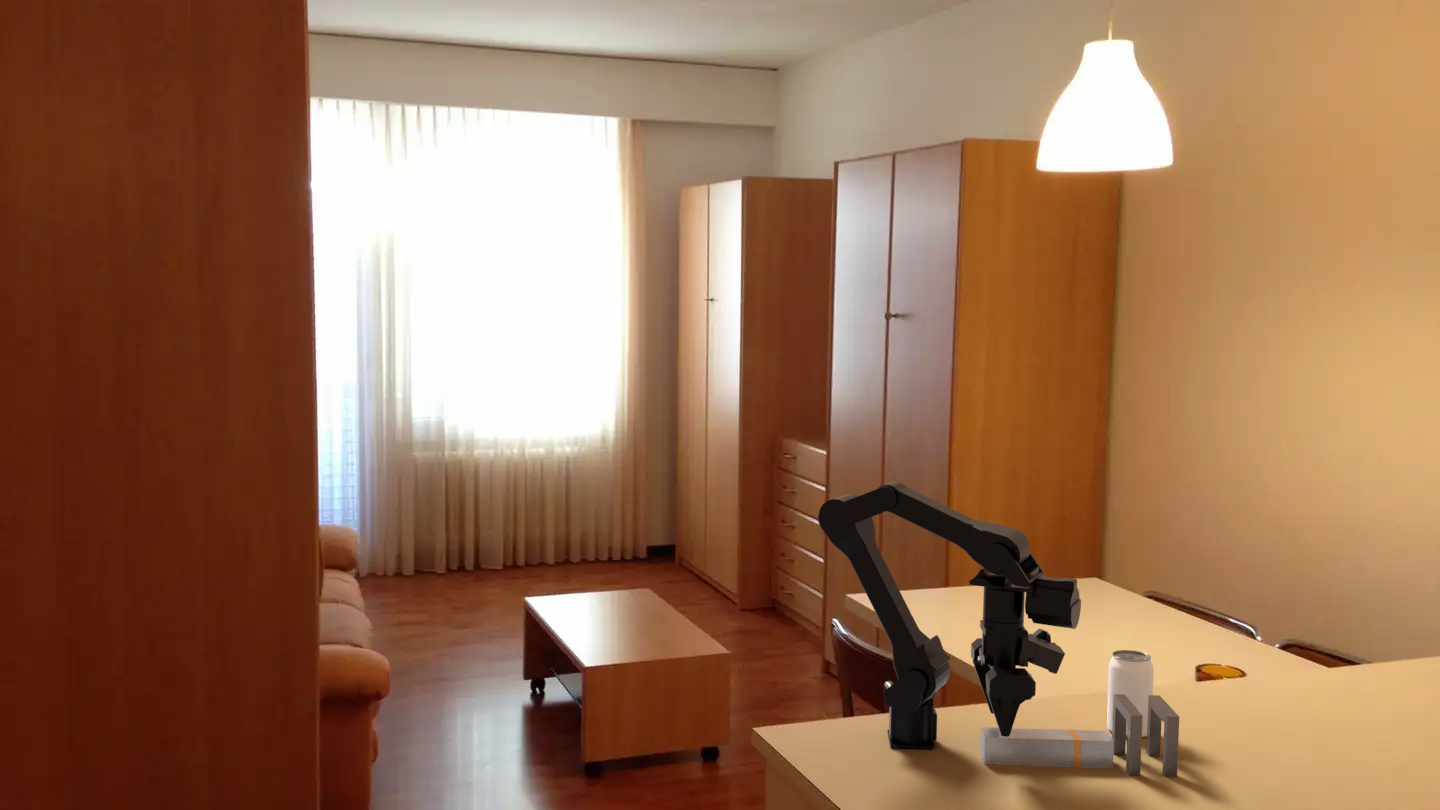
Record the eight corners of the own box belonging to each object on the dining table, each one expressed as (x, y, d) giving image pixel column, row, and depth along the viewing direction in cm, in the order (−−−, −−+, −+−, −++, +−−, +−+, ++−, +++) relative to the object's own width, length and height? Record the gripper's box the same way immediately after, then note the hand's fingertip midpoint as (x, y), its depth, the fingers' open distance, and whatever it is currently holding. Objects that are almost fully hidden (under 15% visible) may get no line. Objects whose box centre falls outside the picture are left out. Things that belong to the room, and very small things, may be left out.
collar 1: (1128, 775, 165) (1130, 715, 164) (1111, 751, 174) (1113, 694, 173) (1140, 775, 165) (1142, 715, 164) (1122, 751, 174) (1124, 694, 173)
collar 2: (1165, 776, 165) (1167, 716, 164) (1146, 752, 174) (1148, 695, 173) (1176, 776, 165) (1179, 716, 164) (1157, 752, 174) (1159, 695, 173)
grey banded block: (984, 764, 169) (985, 737, 169) (979, 753, 173) (980, 726, 173) (1112, 768, 168) (1113, 741, 167) (1105, 757, 172) (1106, 730, 171)
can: (1154, 740, 178) (1157, 662, 177) (1109, 737, 180) (1112, 660, 179) (1147, 725, 185) (1150, 650, 184) (1104, 722, 186) (1107, 647, 185)
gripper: (1075, 638, 159) (1071, 751, 161) (1046, 603, 178) (1043, 704, 179) (991, 636, 160) (988, 748, 161) (971, 601, 179) (968, 701, 180)
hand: (999, 724), depth 170 cm, fingers open, 9 cm apart
